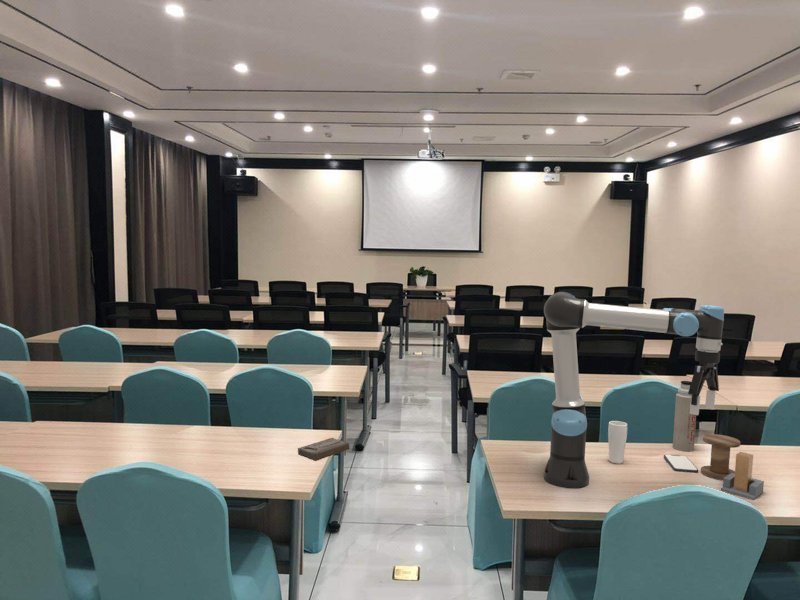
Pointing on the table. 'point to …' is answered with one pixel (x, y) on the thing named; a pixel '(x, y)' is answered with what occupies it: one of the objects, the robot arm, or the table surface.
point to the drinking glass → (617, 441)
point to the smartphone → (680, 463)
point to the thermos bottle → (684, 420)
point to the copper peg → (743, 471)
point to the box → (323, 449)
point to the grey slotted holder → (753, 492)
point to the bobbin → (719, 455)
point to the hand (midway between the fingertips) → (701, 411)
